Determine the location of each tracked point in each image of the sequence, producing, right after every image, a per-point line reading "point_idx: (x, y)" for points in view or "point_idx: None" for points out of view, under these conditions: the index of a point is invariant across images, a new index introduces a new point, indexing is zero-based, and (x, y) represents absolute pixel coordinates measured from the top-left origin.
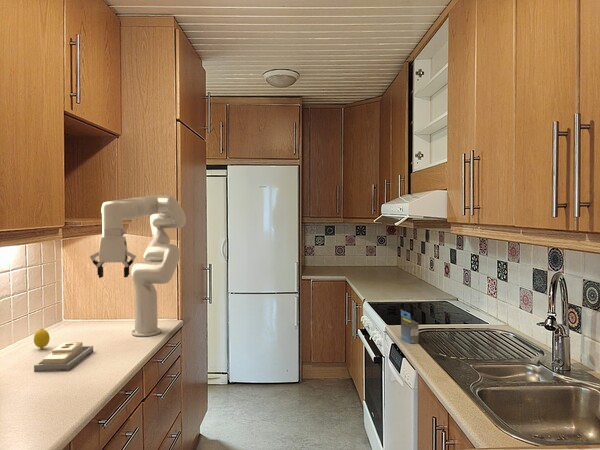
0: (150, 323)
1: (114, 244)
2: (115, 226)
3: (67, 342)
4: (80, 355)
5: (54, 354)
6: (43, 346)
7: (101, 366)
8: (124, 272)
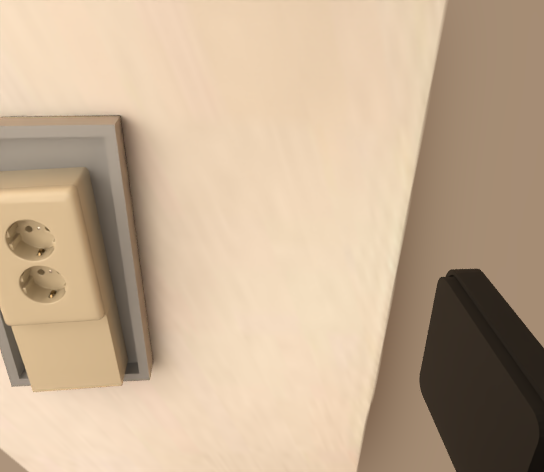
0: None
1: None
2: None
3: None
4: (135, 281)
5: (41, 341)
6: None
7: (257, 321)
8: (461, 460)
